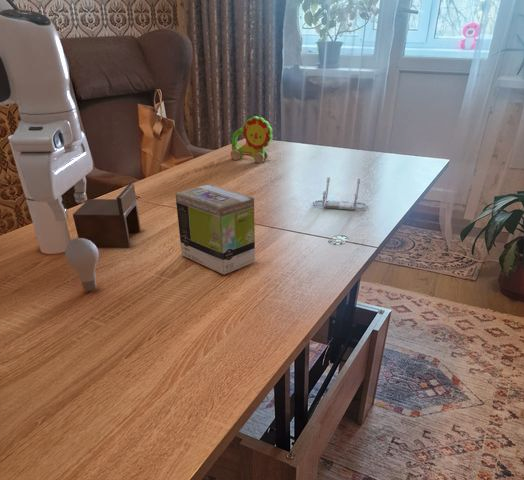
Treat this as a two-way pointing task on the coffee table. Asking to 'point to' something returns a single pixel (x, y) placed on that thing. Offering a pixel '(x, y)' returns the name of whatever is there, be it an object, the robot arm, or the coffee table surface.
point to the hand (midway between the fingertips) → (72, 210)
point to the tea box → (216, 227)
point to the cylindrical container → (44, 219)
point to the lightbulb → (83, 261)
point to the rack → (109, 219)
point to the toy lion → (253, 139)
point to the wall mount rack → (340, 204)
